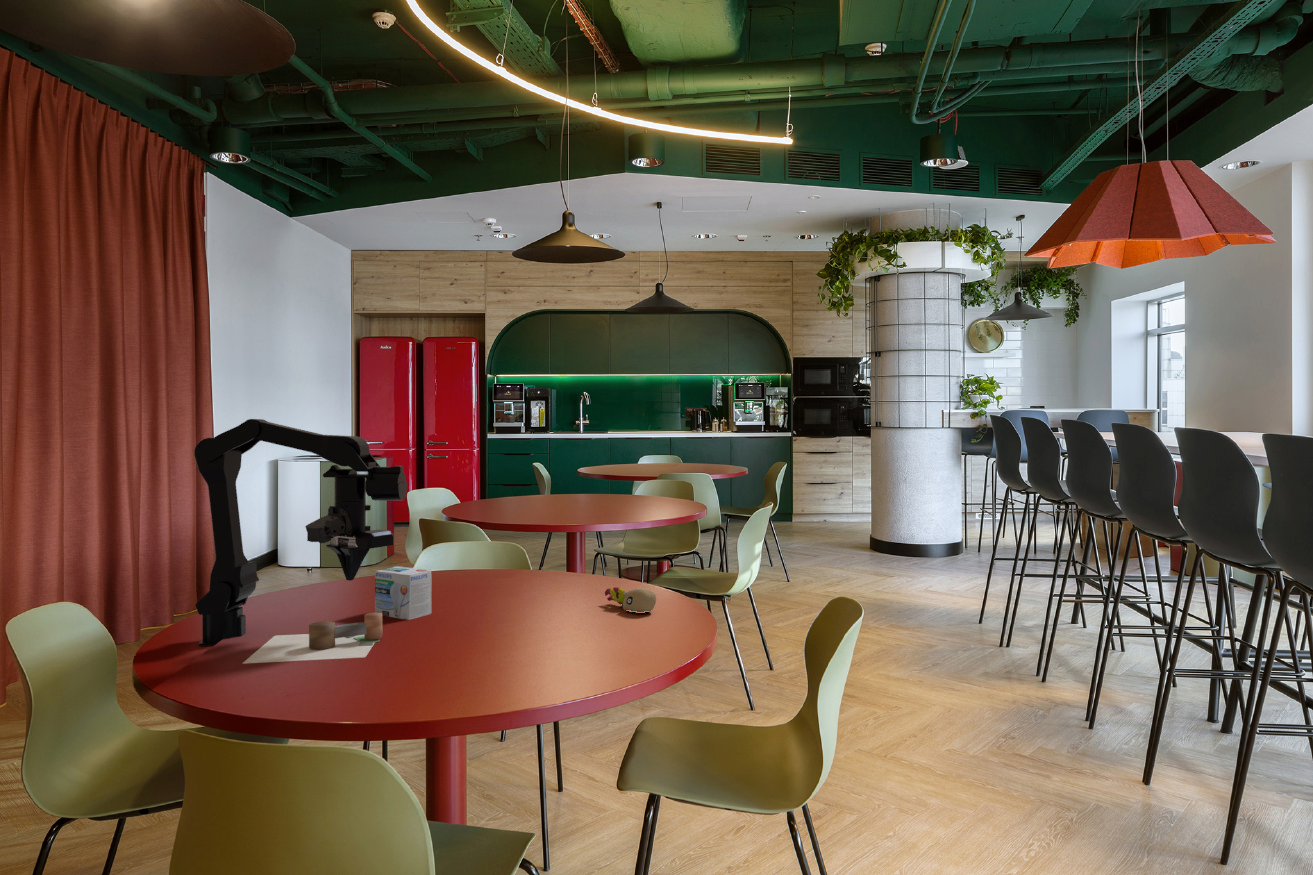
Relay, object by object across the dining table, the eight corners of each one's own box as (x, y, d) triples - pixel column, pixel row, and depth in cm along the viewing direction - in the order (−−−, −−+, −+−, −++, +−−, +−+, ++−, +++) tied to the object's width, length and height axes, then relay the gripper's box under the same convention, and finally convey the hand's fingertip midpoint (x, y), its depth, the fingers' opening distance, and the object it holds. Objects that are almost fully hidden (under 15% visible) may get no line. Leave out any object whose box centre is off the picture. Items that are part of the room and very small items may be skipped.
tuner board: (242, 670, 131) (242, 662, 131) (274, 641, 149) (274, 634, 149) (370, 663, 135) (370, 655, 135) (387, 636, 153) (387, 629, 153)
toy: (593, 592, 179) (634, 602, 167) (614, 574, 183) (655, 582, 171) (604, 613, 181) (644, 624, 169) (624, 594, 185) (666, 604, 173)
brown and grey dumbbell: (310, 650, 138) (310, 624, 138) (307, 644, 142) (307, 619, 142) (384, 640, 145) (384, 615, 145) (380, 635, 148) (379, 611, 148)
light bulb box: (373, 620, 166) (373, 570, 166) (397, 613, 172) (397, 565, 172) (409, 625, 161) (409, 574, 161) (433, 618, 167) (432, 569, 167)
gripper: (282, 501, 148) (282, 582, 148) (346, 506, 138) (346, 593, 138) (332, 496, 157) (332, 572, 157) (395, 501, 148) (395, 582, 148)
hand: (349, 580), depth 150 cm, fingers closed
